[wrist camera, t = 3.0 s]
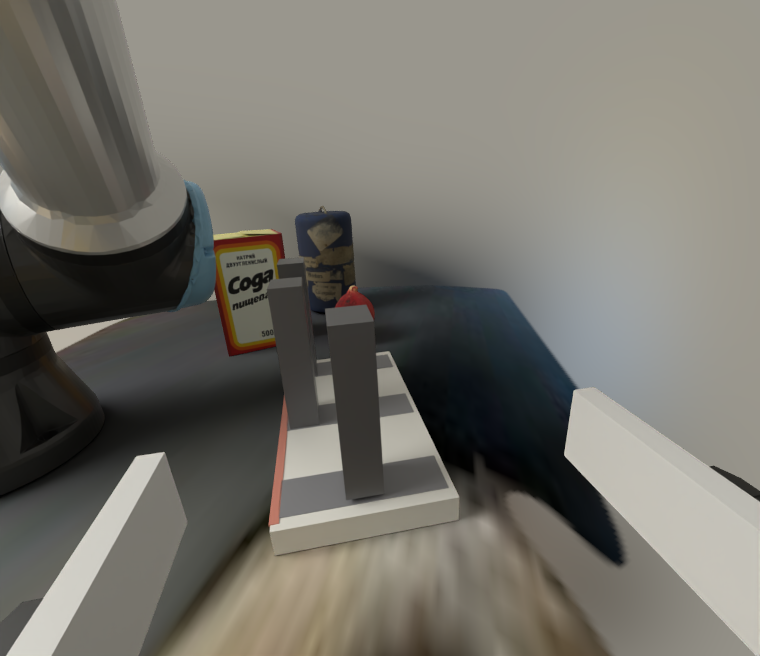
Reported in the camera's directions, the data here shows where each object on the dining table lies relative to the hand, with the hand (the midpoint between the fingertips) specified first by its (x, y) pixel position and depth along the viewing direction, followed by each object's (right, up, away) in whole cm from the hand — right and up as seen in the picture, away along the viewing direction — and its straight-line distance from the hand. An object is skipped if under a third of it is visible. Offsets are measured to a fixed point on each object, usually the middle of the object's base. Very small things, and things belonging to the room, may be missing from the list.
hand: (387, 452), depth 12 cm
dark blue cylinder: (-9, +8, +57) cm, 58 cm away
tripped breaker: (-1, -6, +13) cm, 15 cm away
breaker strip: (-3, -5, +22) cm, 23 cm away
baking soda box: (-18, +2, +44) cm, 47 cm away
